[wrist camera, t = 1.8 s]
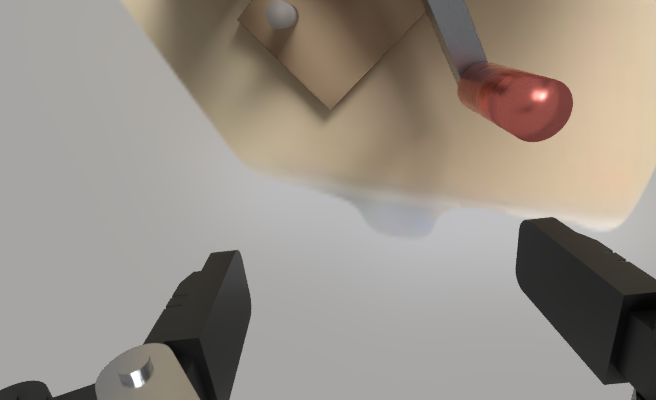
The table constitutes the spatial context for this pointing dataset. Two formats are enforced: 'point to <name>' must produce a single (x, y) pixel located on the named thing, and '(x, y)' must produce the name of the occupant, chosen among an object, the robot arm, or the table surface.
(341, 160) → the table surface
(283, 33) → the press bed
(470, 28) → the lever
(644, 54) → the table surface
